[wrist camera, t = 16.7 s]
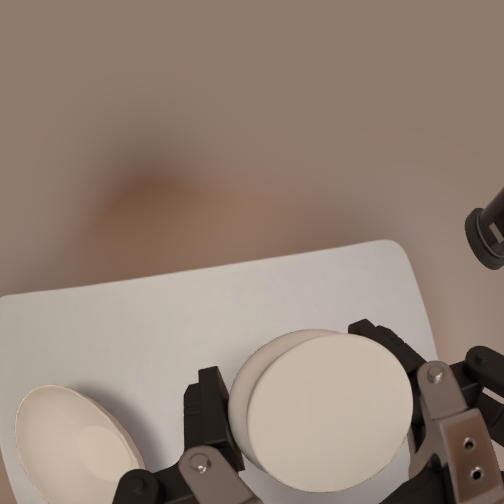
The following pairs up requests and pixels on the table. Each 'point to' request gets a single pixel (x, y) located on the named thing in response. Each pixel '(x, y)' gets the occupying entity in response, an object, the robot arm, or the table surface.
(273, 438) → the supplement bottle
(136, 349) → the table surface
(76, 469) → the bowl
